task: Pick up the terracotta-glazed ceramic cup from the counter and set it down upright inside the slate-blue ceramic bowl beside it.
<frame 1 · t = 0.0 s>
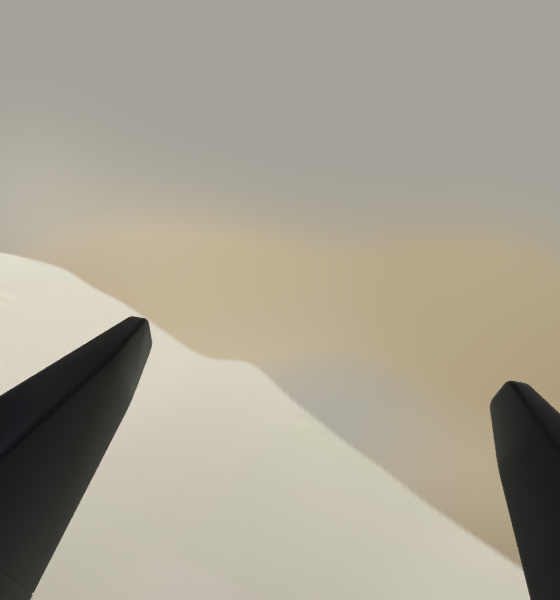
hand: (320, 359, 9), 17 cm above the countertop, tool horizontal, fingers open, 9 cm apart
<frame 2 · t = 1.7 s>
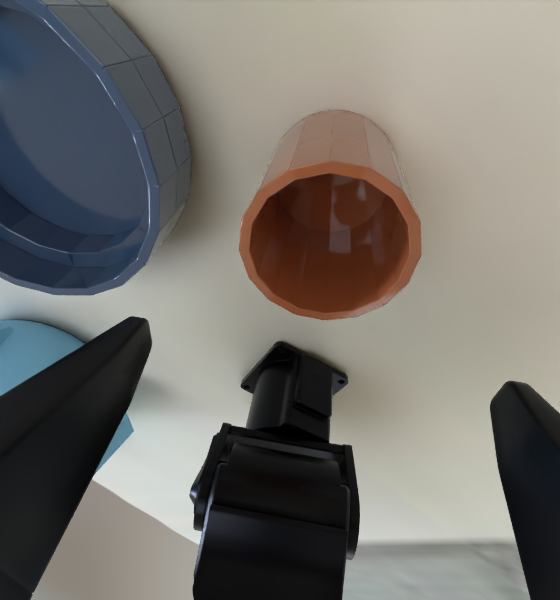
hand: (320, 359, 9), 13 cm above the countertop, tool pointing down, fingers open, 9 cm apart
cup: (331, 177, 19), on the countertop
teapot: (51, 364, 33), on the countertop
bowl: (66, 137, 19), on the countertop
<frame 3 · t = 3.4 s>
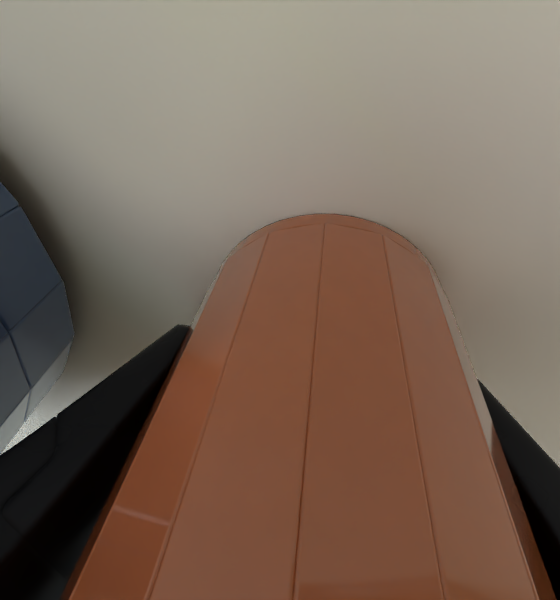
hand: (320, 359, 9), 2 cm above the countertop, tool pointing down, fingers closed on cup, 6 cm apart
cup: (322, 316, 10), on the countertop, touching gripper
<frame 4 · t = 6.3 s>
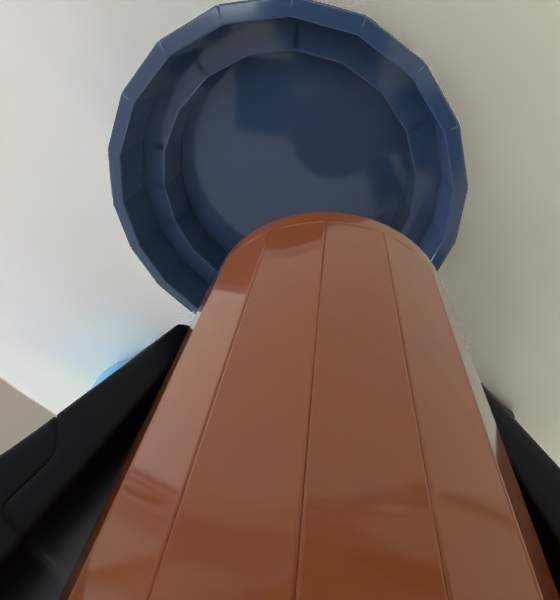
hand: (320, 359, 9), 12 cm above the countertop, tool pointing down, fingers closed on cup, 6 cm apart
cup: (323, 315, 10), point 10 cm above the countertop, touching gripper
bowl: (291, 178, 18), on the countertop
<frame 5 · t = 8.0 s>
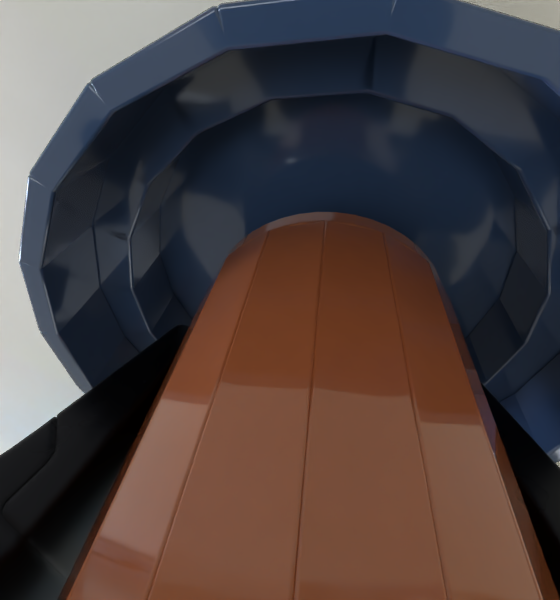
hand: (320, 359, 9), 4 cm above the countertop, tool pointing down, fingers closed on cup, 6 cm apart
cup: (323, 315, 10), point 3 cm above the countertop, touching gripper
bowl: (325, 264, 12), on the countertop
when the fingers open (2 cm above the countertop, at t = 9.2 s): cup stays where it is, resting on bowl.
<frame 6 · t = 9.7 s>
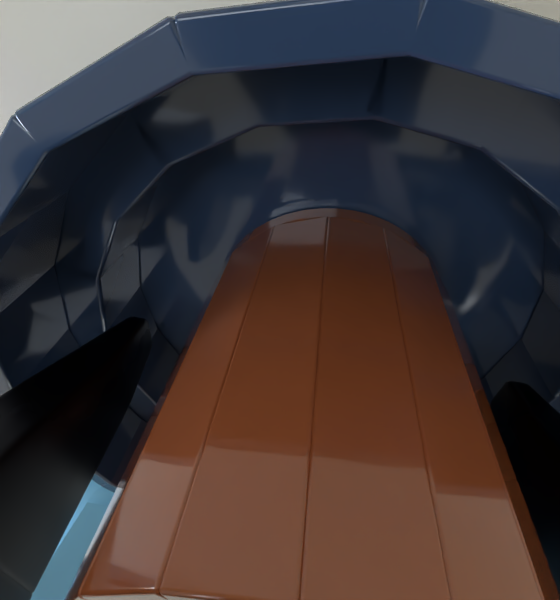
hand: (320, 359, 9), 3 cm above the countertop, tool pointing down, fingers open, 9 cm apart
cup: (325, 309, 11), point 1 cm above the countertop, touching bowl
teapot: (162, 512, 25), on the countertop
bowl: (325, 297, 11), on the countertop
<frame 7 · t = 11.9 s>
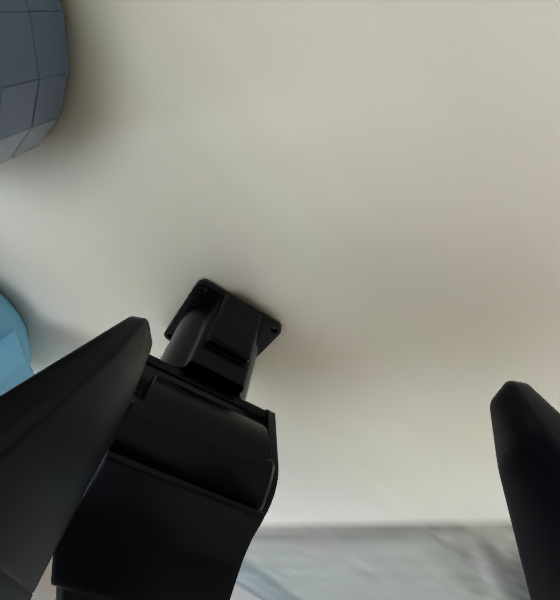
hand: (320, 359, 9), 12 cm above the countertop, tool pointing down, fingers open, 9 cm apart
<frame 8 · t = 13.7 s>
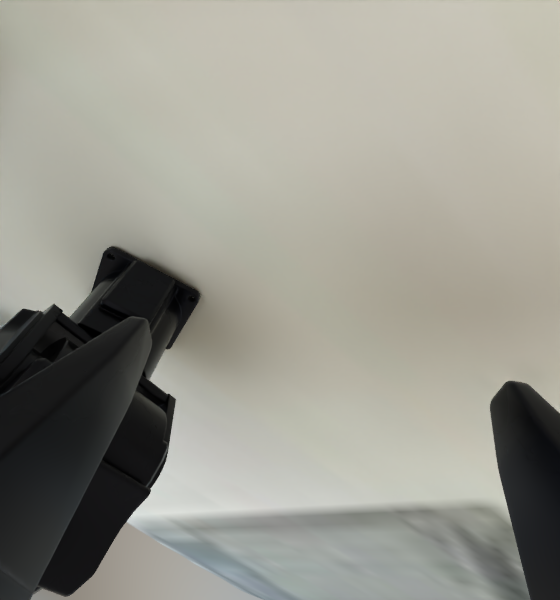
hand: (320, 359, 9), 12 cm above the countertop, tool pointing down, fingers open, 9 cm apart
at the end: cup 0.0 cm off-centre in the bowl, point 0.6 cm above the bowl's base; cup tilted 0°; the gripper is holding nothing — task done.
